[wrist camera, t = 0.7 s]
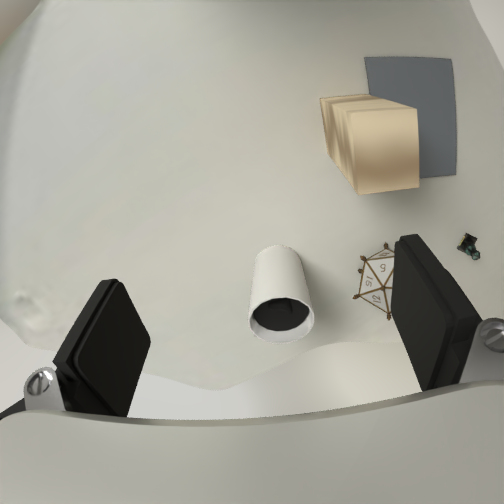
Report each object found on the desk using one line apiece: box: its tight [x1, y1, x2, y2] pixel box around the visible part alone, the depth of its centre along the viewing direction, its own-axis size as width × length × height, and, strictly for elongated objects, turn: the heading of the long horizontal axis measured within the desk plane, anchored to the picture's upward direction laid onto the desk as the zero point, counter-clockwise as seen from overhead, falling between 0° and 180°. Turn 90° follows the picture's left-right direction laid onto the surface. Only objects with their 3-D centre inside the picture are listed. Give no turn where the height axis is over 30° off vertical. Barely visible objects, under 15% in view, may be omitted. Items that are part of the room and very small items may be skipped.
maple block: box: [320, 94, 419, 195], centre depth 25 cm, size 6×5×12 cm
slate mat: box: [364, 57, 456, 178], centre depth 29 cm, size 14×11×1 cm
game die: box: [353, 242, 394, 320], centre depth 36 cm, size 9×8×10 cm
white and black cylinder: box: [248, 245, 314, 344], centre depth 36 cm, size 7×7×10 cm
